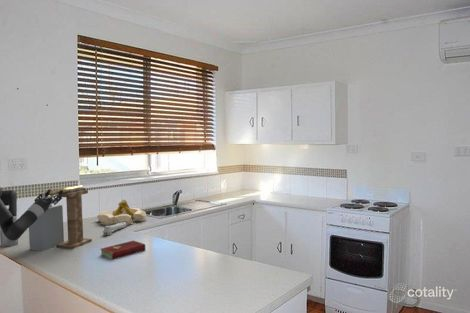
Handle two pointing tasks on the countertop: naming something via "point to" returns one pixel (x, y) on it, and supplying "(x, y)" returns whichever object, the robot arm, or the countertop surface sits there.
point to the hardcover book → (122, 249)
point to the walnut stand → (74, 219)
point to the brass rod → (65, 190)
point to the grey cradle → (47, 229)
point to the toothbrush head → (113, 228)
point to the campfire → (121, 215)
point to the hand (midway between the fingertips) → (56, 190)
